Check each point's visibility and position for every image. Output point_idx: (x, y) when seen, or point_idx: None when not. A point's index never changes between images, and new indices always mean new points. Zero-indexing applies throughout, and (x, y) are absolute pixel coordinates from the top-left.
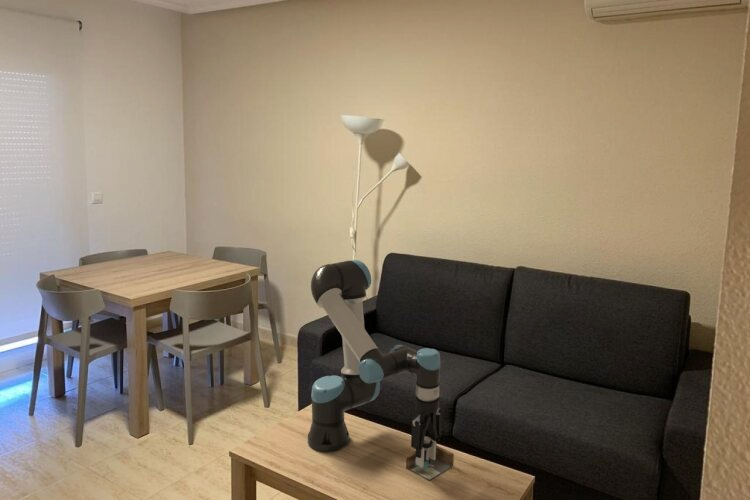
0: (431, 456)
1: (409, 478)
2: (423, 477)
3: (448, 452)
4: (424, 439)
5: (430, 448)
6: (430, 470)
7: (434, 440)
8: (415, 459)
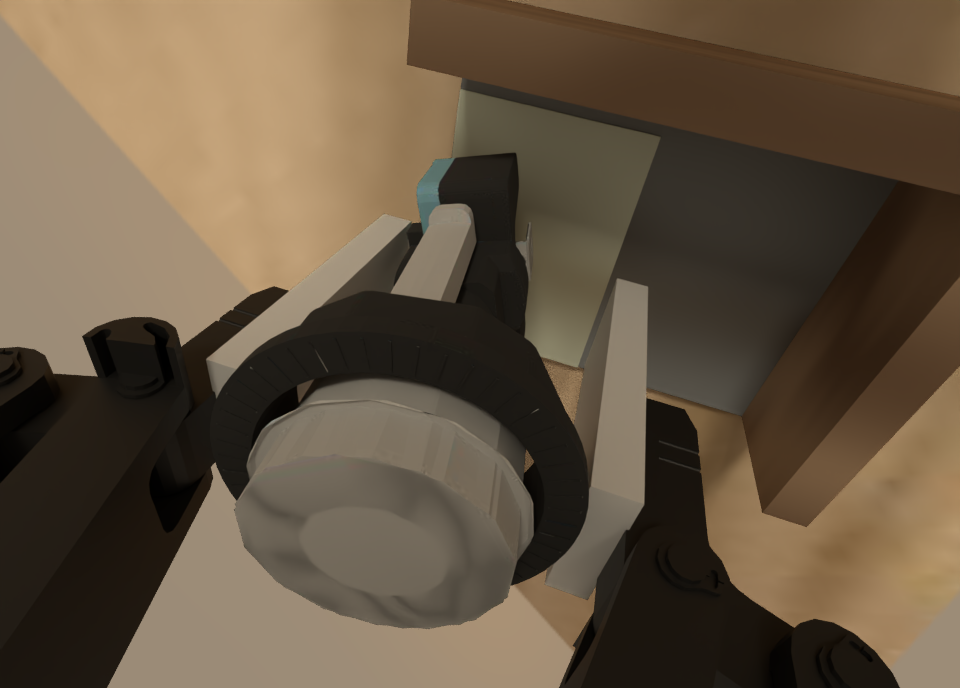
0: (594, 349)
1: (349, 145)
2: None
3: (816, 479)
4: (292, 565)
5: (588, 406)
6: (565, 280)
7: (601, 586)
8: (417, 187)
